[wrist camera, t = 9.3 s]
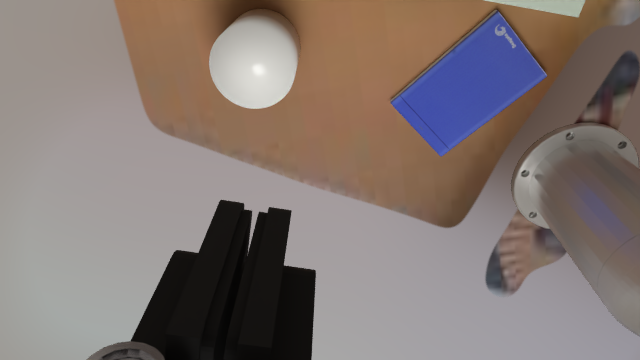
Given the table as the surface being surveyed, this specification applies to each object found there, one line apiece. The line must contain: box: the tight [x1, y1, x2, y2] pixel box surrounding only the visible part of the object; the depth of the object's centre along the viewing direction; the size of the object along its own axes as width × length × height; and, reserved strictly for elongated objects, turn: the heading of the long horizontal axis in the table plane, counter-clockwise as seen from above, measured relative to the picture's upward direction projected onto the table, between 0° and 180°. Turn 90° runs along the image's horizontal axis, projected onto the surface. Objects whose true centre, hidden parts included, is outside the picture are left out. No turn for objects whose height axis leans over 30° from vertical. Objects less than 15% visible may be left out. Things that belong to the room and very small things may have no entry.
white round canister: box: [209, 9, 301, 109], centre depth 40 cm, size 7×7×7 cm
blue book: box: [390, 9, 547, 156], centre depth 44 cm, size 2×8×12 cm
